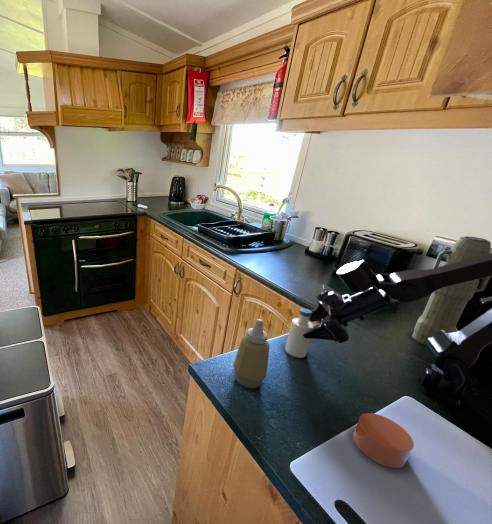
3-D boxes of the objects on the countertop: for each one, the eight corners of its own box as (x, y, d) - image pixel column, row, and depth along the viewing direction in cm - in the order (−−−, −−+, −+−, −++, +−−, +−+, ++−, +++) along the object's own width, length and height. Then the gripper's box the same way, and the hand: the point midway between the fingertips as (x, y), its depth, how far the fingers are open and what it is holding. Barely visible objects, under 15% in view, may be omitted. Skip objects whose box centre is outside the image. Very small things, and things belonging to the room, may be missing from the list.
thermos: (458, 355, 88) (513, 245, 76) (408, 341, 94) (451, 237, 82) (450, 341, 95) (500, 239, 83) (404, 329, 101) (444, 232, 89)
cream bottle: (307, 351, 87) (319, 310, 82) (303, 360, 83) (315, 318, 78) (288, 343, 90) (298, 304, 86) (282, 351, 86) (292, 310, 81)
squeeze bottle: (238, 365, 80) (249, 307, 74) (268, 379, 75) (282, 319, 69) (226, 381, 74) (236, 320, 68) (257, 397, 69) (272, 333, 63)
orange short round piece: (405, 446, 59) (413, 429, 57) (405, 477, 52) (414, 460, 51) (355, 421, 64) (361, 406, 62) (350, 448, 58) (357, 431, 56)
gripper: (336, 268, 84) (286, 294, 92) (346, 293, 68) (285, 320, 76) (361, 299, 83) (308, 322, 91) (376, 331, 67) (311, 355, 76)
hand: (303, 328), depth 84 cm, fingers open, 9 cm apart
